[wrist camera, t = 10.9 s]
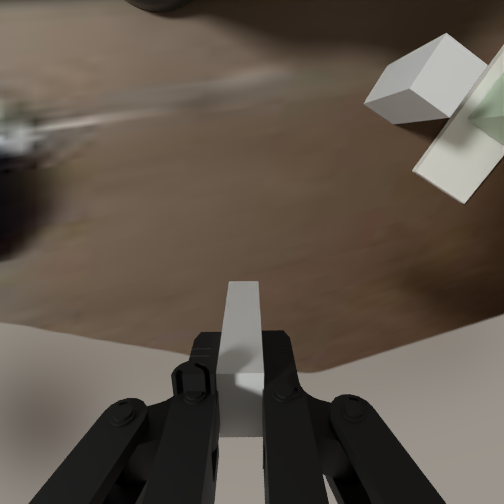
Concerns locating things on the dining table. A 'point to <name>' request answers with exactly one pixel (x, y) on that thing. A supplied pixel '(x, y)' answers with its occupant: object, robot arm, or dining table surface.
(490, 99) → the pale green block
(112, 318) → the dining table surface
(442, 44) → the grey block
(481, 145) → the rail plate
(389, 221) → the dining table surface
